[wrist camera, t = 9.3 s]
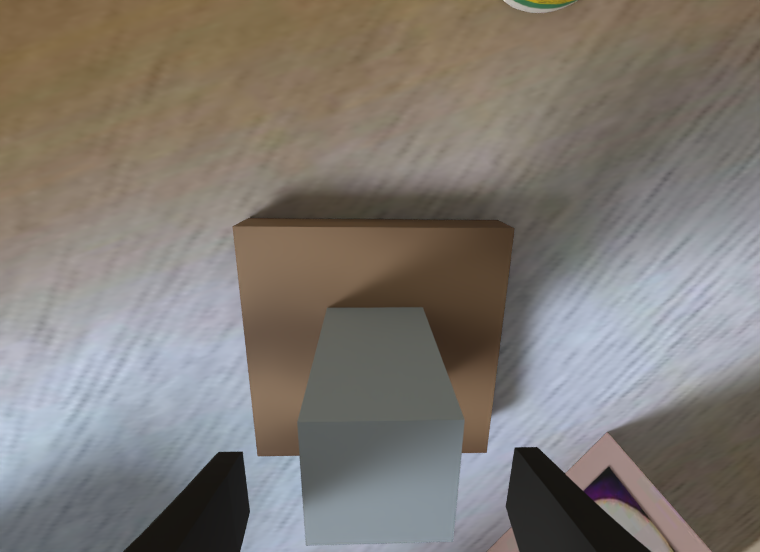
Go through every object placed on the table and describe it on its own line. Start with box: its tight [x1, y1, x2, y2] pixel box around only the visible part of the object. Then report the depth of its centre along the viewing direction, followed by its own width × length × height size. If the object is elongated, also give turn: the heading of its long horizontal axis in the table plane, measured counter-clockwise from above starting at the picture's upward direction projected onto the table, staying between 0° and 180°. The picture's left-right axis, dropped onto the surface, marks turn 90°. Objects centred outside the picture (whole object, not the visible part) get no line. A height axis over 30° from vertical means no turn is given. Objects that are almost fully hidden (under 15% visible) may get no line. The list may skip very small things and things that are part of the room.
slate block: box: [297, 307, 465, 546], centre depth 13 cm, size 4×4×7 cm
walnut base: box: [233, 218, 515, 456], centre depth 17 cm, size 11×11×2 cm
